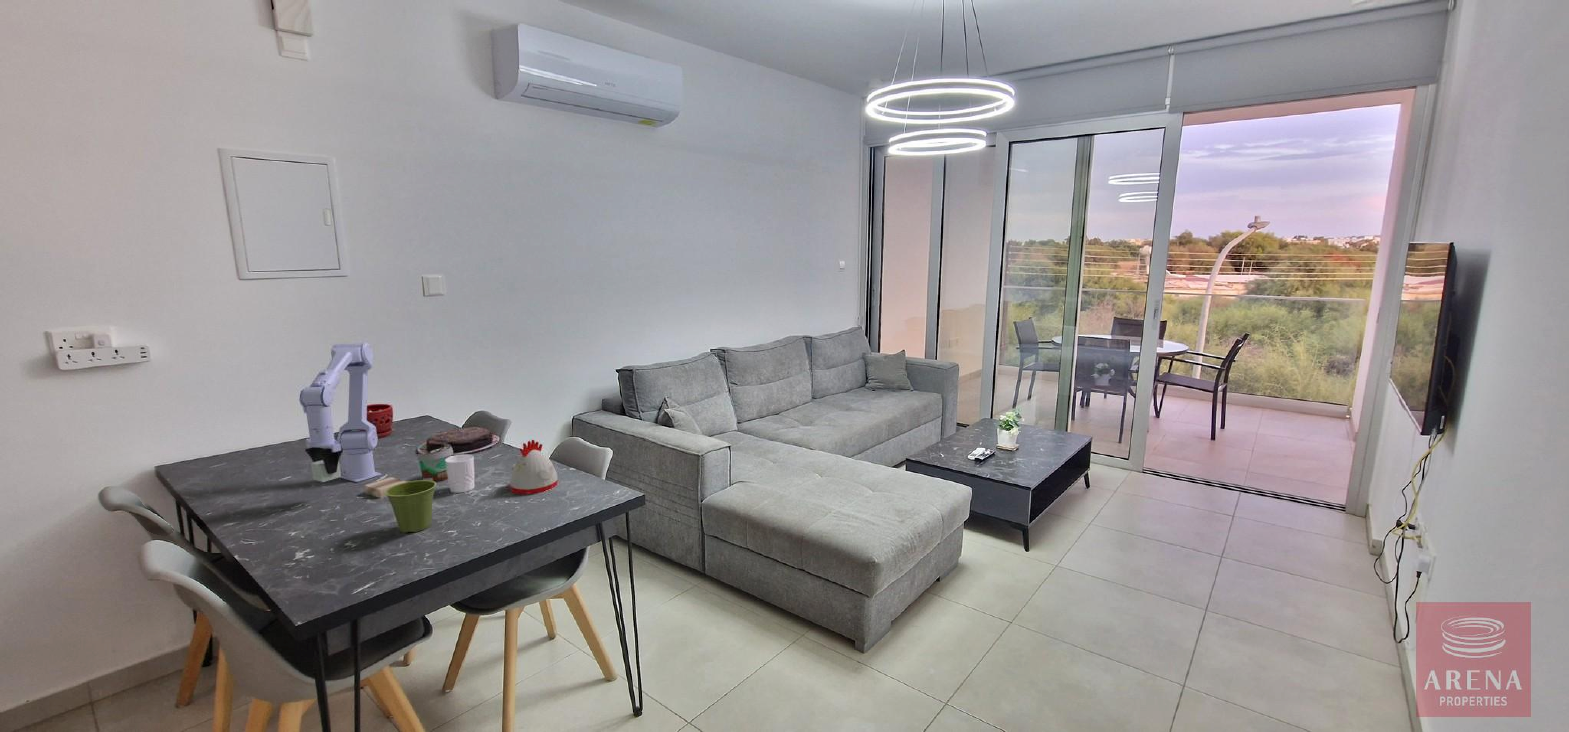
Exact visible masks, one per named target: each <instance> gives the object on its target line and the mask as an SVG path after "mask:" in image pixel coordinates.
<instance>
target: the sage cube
mask: <svg viewBox="0 0 1569 732" xmlns="http://www.w3.org/2000/svg"><path fill="white" fill-rule="evenodd" d="M310 466H311V474H312V479H313V480H314V481H316V482H317V481H318V482H320V483H324V482H325V483H326V482H329V481H331V480H336V479H338V478H340V477H341V476H342V473H341V465H340V460H339V461H338V467H337V472H336V473H332V474H328V473H327V471H326V468H325V464H324V462H323V460H321V461H317V462H314V463H313V462H311V463H310Z"/></svg>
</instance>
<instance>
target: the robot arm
mask: <svg viewBox="0 0 1569 732" xmlns="http://www.w3.org/2000/svg"><path fill="white" fill-rule="evenodd" d="M330 355H331V359H330V362H329V364H328V365H327V367H326V369H323V370H320V371H319V372H318V374H317V375H316V377H315V378H314V380H313V381H312V382H311V384H310V385H309V386H307V387H305V388H303V389H301V391H300V393H299V398H298V401H299V404H300V406H301V407H302V411H303V413H304V414H305V415H306V422H307V426H308V434H309V438H306V439H305V445H306V448H305V450H304V451H305V453H307V455H308V456H309V458H310V459H311V460H312V463H314V462H317V461H321V460H323V462H324V464H325V468H326V471H327V473H328V474H332V473H336V472H337V467H338V461H339V462H341V471H342V475H341V477H339V478H341V479H344V480H348V481H351V482H355V483H358V482H362V481H366V480H368V479H372V478H375V477H378V476H381V475H382V473H381V472H378V471H376V469H375V463H374V454H373V452H374V451H373V450H374V449H375V448H376V447H377V445H378V442H379V441H378V439H379V438H378V437H377V433H376V427H375V426H374V425H373V424H371V423H370V422H368V421H367V420H366V419H367V405H368V379H369V378H368V377H369V374H368V373H369V370H371V369H373V363H374V351H373V349H372V346H371V345H370V344H369V343H368V342H360V343H359V342H358V343H357V342H355V343H352V342H351V343H334V344H333V345H332V348H331V350H330ZM343 371H347V372H348V373H349V382H348V386H349V387H348V412H347V413H348V414H347V420H348V421H346V423H344V424H343V425H341V426H340V427H339V431H338V435H337V438H336V439H335V433H334V425H333V417H332V411H331V405H332V404H333V402H334V396H335V393H336V392H335V390H336V389H337V387H338V386H339V384H340V382H341V380H342V379H341V376H340V375H341V374H342V373H343ZM359 430H366V431H359Z"/></svg>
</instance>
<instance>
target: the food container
mask: <svg viewBox="0 0 1569 732" xmlns="http://www.w3.org/2000/svg"><path fill="white" fill-rule="evenodd" d="M452 453H453V449H452V447H451V446H450V445H449V444H444V447H441V448H439V449H435V450H431V451H430V452H428V453H426V454H420V453H418V454H417V461H418V462H419V466H420V471H421V472H420V473H421V477H422V480H429V481H434V482H436V483H439V482H444V481H447V480H448V476H447V470H446V463H445V459H447V458H449V457H451V454H452Z"/></svg>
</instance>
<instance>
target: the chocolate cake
mask: <svg viewBox="0 0 1569 732" xmlns="http://www.w3.org/2000/svg"><path fill="white" fill-rule="evenodd" d="M496 443H498V444H499V443H500V437H499V436H498V435H495V434H492V433H491V431H490V429H487V428H485V427H482V426H476V427H475V426H473V427H472V426H471V427H468V426H467V427H462V428H456V427H455V428H454V429H446V430H440V431H438V432H437V433H435V434H432V435H431V436H430V437H428V438H427V439H426V442H423V443H422V444H421V445H419V446H418V447H417V452H418V454H426V453H428V452H430V451H431V450H435V449H439V448H441V447H444V444H449V445H450V446H451V447H452V449H453V453H452V454H451V456H455V455H462V454H469V455H471V454H470V453H472V454H476V453H479V452H480V451H481V452H484V451H483V450H485V449H486V450H487V449H490V447H491V448H494V447H495V446H496V445H497V444H496ZM493 446H494V447H493ZM486 450H485V451H486Z"/></svg>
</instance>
